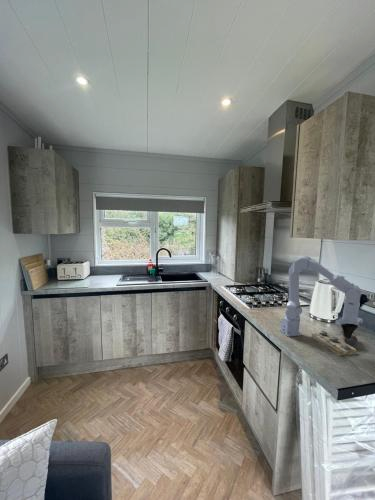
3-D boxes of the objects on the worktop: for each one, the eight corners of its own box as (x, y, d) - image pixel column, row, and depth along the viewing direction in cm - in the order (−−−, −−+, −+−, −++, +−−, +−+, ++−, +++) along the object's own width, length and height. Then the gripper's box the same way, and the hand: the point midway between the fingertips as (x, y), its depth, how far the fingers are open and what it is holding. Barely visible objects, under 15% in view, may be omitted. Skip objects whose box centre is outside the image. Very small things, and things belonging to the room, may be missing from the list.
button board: (339, 355, 104) (340, 351, 104) (311, 337, 121) (311, 333, 120) (355, 353, 107) (356, 348, 107) (326, 335, 123) (326, 331, 123)
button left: (323, 336, 118) (324, 333, 118) (319, 333, 121) (319, 331, 121) (328, 336, 119) (328, 333, 119) (323, 333, 122) (323, 330, 122)
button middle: (334, 343, 112) (334, 340, 112) (329, 340, 115) (329, 337, 115) (339, 342, 113) (339, 339, 113) (333, 339, 116) (334, 336, 115)
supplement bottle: (349, 326, 120) (355, 335, 110) (356, 336, 119) (362, 346, 109) (338, 329, 123) (342, 339, 112) (344, 339, 122) (349, 350, 112)
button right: (346, 352, 106) (346, 349, 106) (340, 348, 109) (340, 345, 109) (350, 351, 107) (351, 348, 106) (345, 348, 110) (345, 345, 109)
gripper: (346, 315, 100) (342, 343, 101) (371, 313, 103) (366, 340, 105) (333, 309, 106) (329, 335, 108) (356, 307, 110) (352, 333, 112)
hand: (347, 337), depth 107 cm, fingers closed
